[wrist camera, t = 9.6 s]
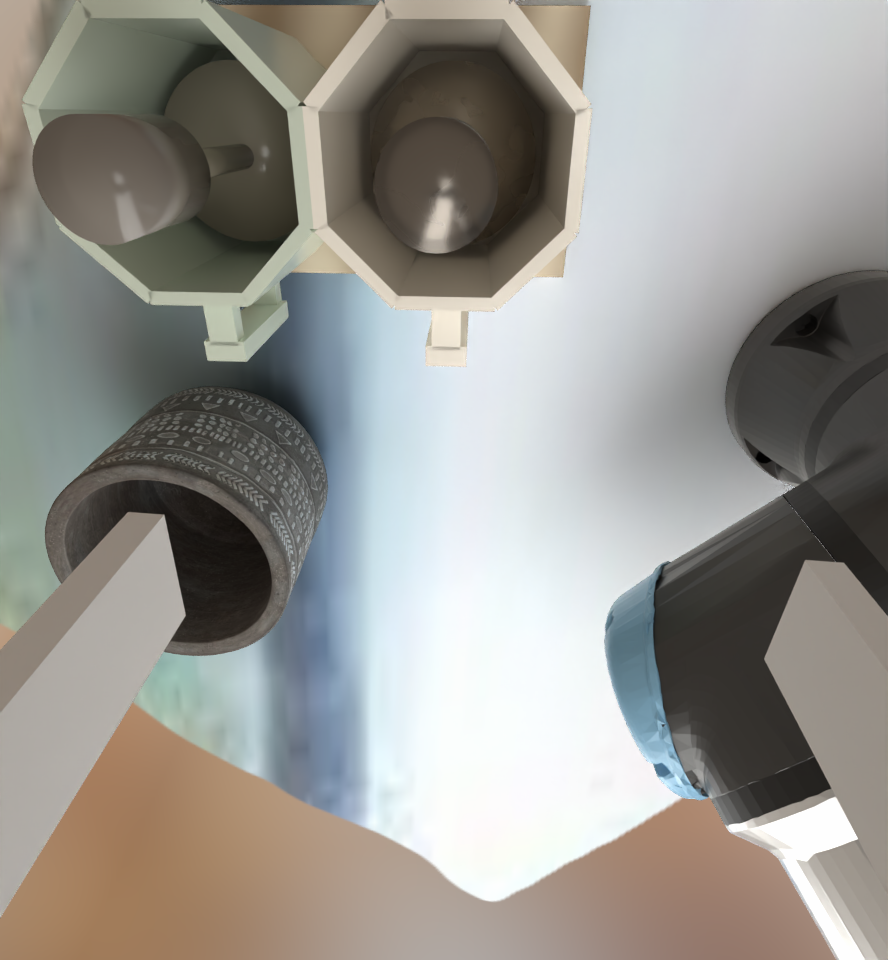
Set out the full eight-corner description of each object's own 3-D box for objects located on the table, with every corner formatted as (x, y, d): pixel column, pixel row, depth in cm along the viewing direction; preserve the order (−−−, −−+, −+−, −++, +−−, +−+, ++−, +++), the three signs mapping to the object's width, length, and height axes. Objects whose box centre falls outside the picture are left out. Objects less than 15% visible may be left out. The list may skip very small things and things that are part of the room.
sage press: (357, 39, 34) (235, -39, 17) (371, 301, 41) (295, 434, 24) (161, 38, 35) (-155, -39, 17) (208, 298, 42) (19, 427, 25)
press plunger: (541, 61, 30) (591, 19, 17) (528, 244, 34) (559, 326, 21) (368, 60, 30) (283, 18, 17) (376, 242, 35) (313, 321, 21)
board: (587, 8, 34) (590, 5, 33) (560, 273, 41) (563, 277, 40) (155, 8, 35) (145, 4, 34) (202, 266, 42) (196, 270, 41)
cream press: (559, 40, 34) (604, -2, 22) (537, 304, 41) (562, 384, 29) (357, 39, 34) (292, -3, 22) (371, 301, 41) (327, 378, 29)
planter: (136, 365, 46) (3, 463, 33) (327, 363, 45) (267, 462, 32) (182, 525, 53) (88, 656, 40) (348, 525, 52) (305, 660, 39)
